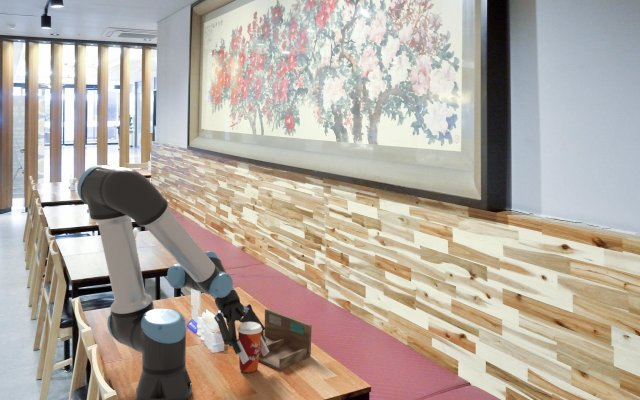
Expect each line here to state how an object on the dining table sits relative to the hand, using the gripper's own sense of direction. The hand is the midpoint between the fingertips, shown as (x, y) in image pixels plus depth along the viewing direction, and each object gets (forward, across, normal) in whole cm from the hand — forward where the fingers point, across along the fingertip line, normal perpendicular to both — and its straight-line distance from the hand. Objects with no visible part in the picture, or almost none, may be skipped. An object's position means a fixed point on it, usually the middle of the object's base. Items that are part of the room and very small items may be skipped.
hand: (256, 357), depth 163 cm
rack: (-2, -14, -9) cm, 16 cm away
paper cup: (+1, 0, -6) cm, 6 cm away
